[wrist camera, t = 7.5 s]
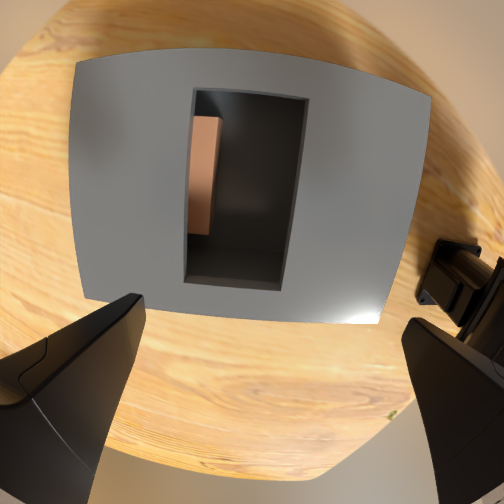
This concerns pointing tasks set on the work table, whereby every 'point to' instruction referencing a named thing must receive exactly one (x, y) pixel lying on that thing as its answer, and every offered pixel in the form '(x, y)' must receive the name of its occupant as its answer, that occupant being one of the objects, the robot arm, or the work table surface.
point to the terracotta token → (203, 173)
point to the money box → (244, 183)
